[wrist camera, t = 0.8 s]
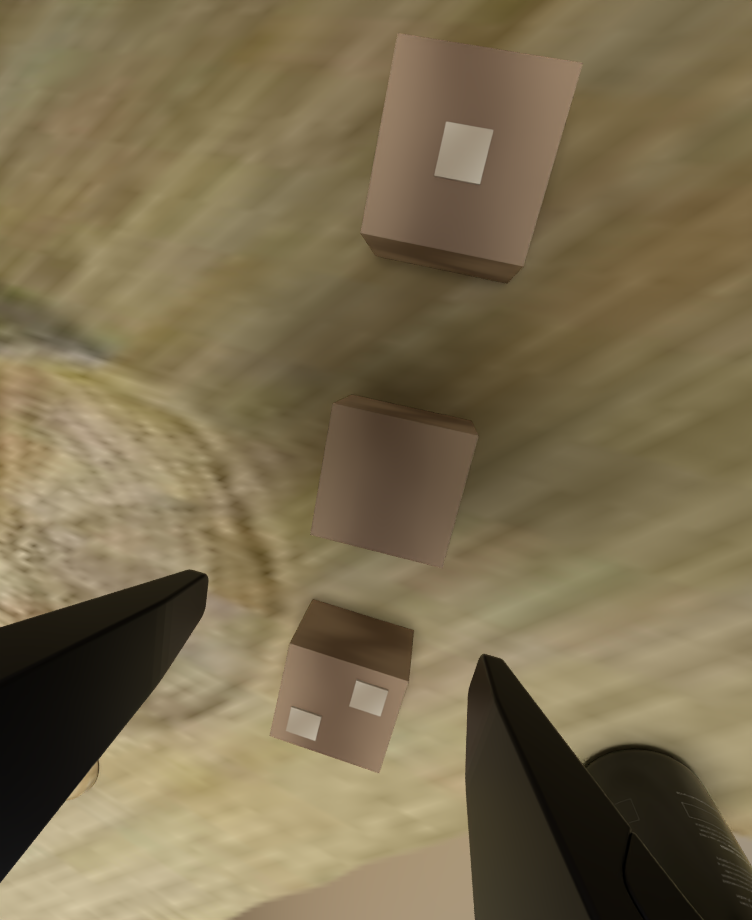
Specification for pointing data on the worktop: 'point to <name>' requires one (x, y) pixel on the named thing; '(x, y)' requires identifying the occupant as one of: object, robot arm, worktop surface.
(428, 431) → the plain walnut block
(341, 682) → the two-pip walnut block
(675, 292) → the worktop surface
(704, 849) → the supplement bottle
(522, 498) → the worktop surface
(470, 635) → the worktop surface
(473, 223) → the one-pip walnut block
